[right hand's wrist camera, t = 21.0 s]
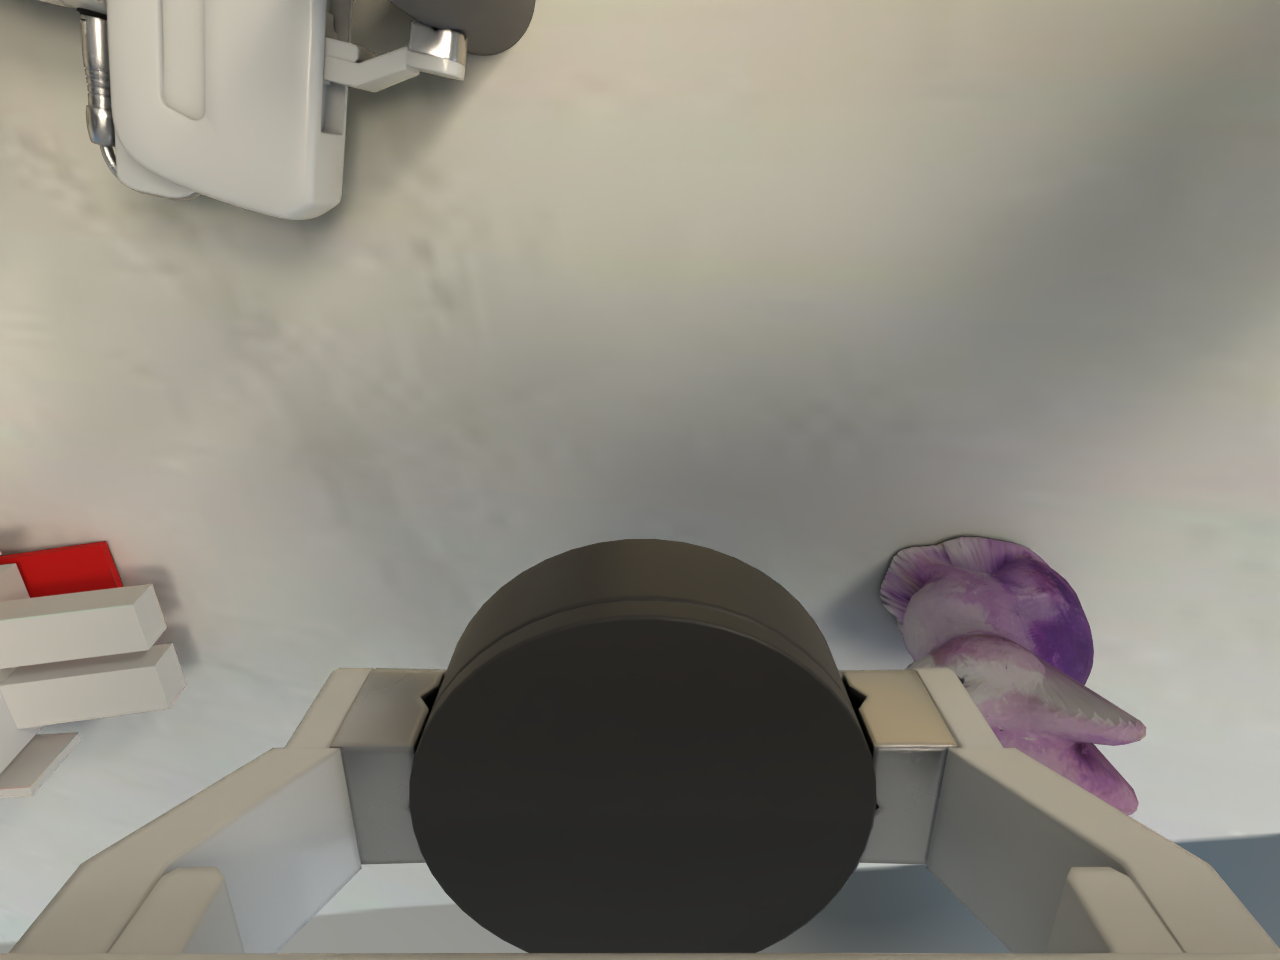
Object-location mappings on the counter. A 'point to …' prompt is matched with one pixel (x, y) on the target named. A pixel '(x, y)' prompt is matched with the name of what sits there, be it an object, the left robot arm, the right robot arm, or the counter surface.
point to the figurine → (1013, 653)
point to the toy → (73, 655)
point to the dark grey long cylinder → (475, 20)
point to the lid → (642, 758)
